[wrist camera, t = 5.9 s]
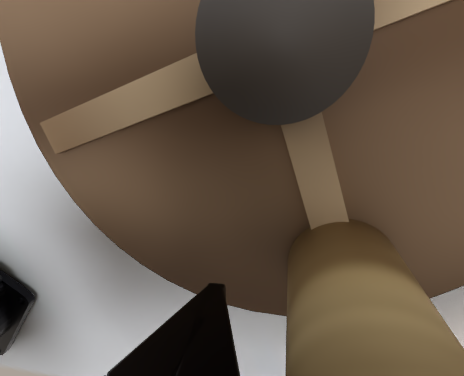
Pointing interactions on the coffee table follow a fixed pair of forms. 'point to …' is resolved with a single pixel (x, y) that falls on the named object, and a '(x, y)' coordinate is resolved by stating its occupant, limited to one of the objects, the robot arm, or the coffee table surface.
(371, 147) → the handwheel
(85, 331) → the coffee table surface
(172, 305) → the coffee table surface
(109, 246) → the coffee table surface
